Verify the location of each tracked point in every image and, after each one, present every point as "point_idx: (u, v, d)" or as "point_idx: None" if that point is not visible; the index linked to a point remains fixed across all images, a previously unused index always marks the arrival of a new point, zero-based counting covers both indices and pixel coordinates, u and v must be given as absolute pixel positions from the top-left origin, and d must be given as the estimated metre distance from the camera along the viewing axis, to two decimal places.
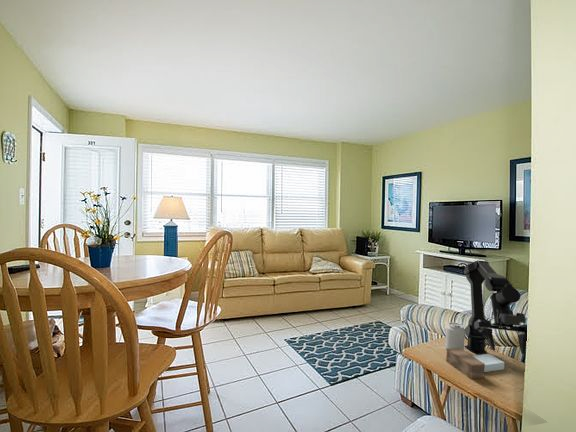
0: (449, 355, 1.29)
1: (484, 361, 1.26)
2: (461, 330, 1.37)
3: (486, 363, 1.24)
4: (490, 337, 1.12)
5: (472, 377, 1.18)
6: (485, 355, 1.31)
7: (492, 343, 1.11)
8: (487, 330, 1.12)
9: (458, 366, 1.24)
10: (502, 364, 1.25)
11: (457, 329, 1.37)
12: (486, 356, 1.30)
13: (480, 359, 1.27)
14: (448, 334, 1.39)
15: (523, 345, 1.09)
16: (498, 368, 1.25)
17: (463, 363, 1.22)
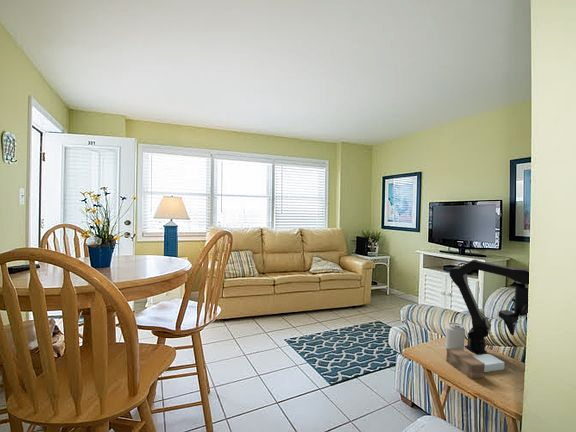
0: (449, 355, 1.29)
1: (484, 361, 1.26)
2: (461, 330, 1.37)
3: (486, 363, 1.24)
4: (513, 326, 1.27)
5: (472, 377, 1.18)
6: (485, 355, 1.31)
7: (513, 330, 1.28)
8: (514, 323, 1.26)
9: (458, 366, 1.24)
10: (502, 364, 1.25)
11: (457, 329, 1.37)
12: (486, 356, 1.30)
13: (480, 359, 1.27)
14: (448, 334, 1.39)
15: None
16: (498, 368, 1.25)
17: (463, 363, 1.22)
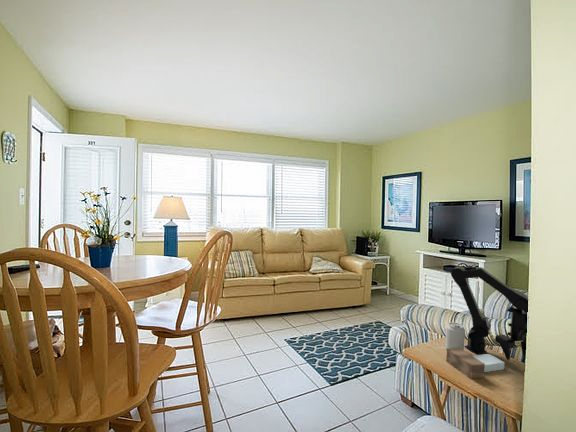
0: (449, 355, 1.29)
1: (484, 361, 1.26)
2: (461, 330, 1.37)
3: (486, 363, 1.24)
4: (509, 351, 1.29)
5: (472, 377, 1.18)
6: (485, 355, 1.31)
7: (509, 355, 1.29)
8: (510, 348, 1.27)
9: (458, 366, 1.24)
10: (502, 364, 1.25)
11: (457, 329, 1.37)
12: (486, 356, 1.30)
13: (480, 359, 1.27)
14: (448, 334, 1.39)
15: None
16: (498, 368, 1.25)
17: (463, 363, 1.22)
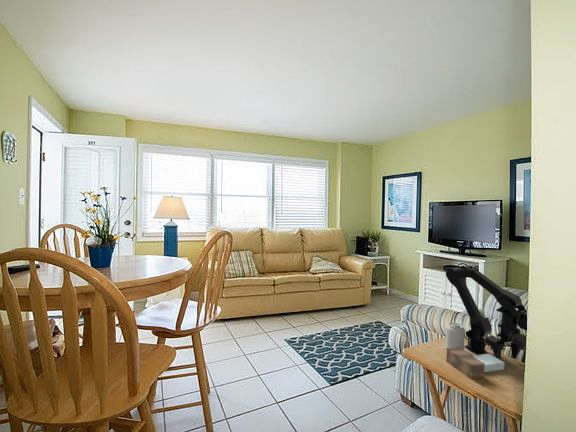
0: (449, 355, 1.29)
1: (484, 361, 1.26)
2: (461, 330, 1.37)
3: (486, 363, 1.24)
4: (500, 353, 1.27)
5: (472, 377, 1.18)
6: (485, 355, 1.31)
7: (499, 357, 1.28)
8: (501, 350, 1.26)
9: (458, 366, 1.24)
10: (502, 364, 1.25)
11: (457, 329, 1.37)
12: (486, 356, 1.30)
13: (480, 359, 1.27)
14: (448, 334, 1.39)
15: (517, 353, 1.30)
16: (498, 368, 1.25)
17: (463, 363, 1.22)
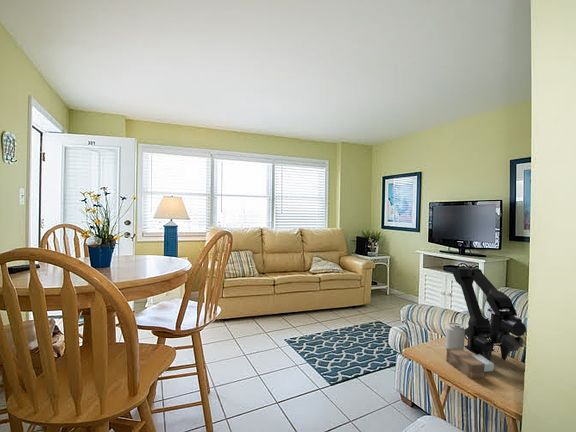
0: (449, 355, 1.29)
1: None
2: (461, 330, 1.37)
3: None
4: (489, 354, 1.26)
5: (472, 377, 1.18)
6: (475, 356, 1.30)
7: (489, 358, 1.27)
8: (490, 351, 1.25)
9: (458, 366, 1.24)
10: (491, 365, 1.24)
11: (457, 329, 1.37)
12: (475, 357, 1.29)
13: None
14: (448, 334, 1.39)
15: (506, 354, 1.29)
16: (487, 369, 1.24)
17: (463, 363, 1.22)
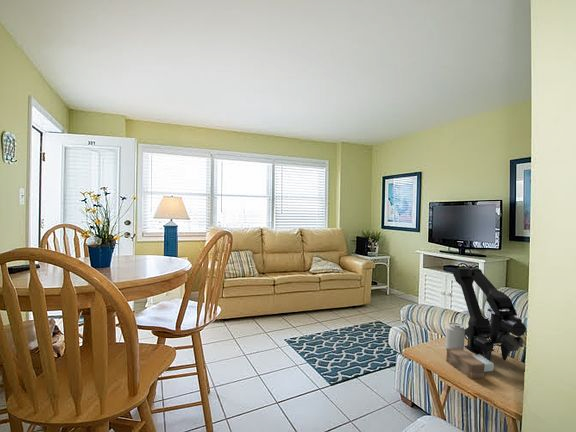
0: (449, 355, 1.29)
1: None
2: (461, 330, 1.37)
3: None
4: (489, 354, 1.26)
5: (472, 377, 1.18)
6: (475, 356, 1.30)
7: (489, 358, 1.27)
8: (490, 351, 1.25)
9: (458, 366, 1.24)
10: (491, 365, 1.24)
11: (457, 329, 1.37)
12: (475, 357, 1.29)
13: None
14: (448, 334, 1.39)
15: (507, 354, 1.29)
16: (487, 369, 1.24)
17: (463, 363, 1.22)
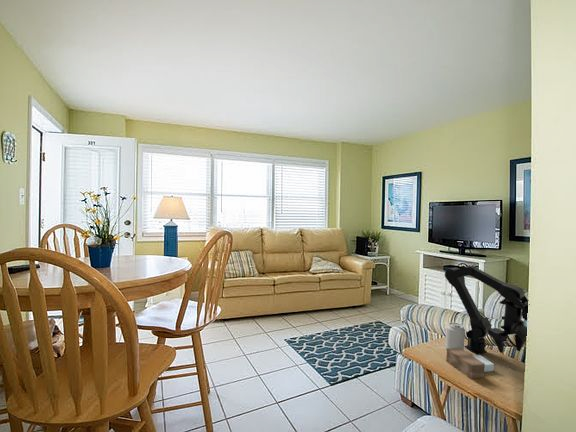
0: (449, 355, 1.29)
1: None
2: (461, 330, 1.37)
3: None
4: (502, 345, 1.27)
5: (472, 377, 1.18)
6: (475, 356, 1.30)
7: (502, 349, 1.28)
8: (503, 341, 1.26)
9: (458, 366, 1.24)
10: (491, 365, 1.24)
11: (457, 329, 1.37)
12: (475, 357, 1.29)
13: None
14: (448, 334, 1.39)
15: (521, 345, 1.30)
16: (487, 369, 1.24)
17: (463, 363, 1.22)
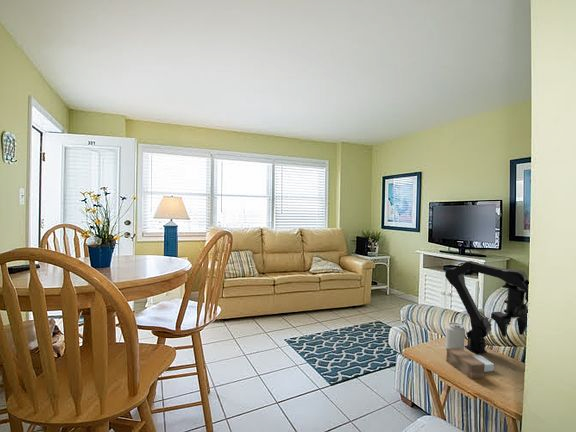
0: (449, 355, 1.29)
1: None
2: (461, 330, 1.37)
3: None
4: (505, 328, 1.27)
5: (472, 377, 1.18)
6: (475, 356, 1.30)
7: (505, 332, 1.28)
8: (506, 324, 1.26)
9: (458, 366, 1.24)
10: (491, 365, 1.24)
11: (457, 329, 1.37)
12: (475, 357, 1.29)
13: None
14: (448, 334, 1.39)
15: (524, 329, 1.30)
16: (487, 369, 1.24)
17: (463, 363, 1.22)
